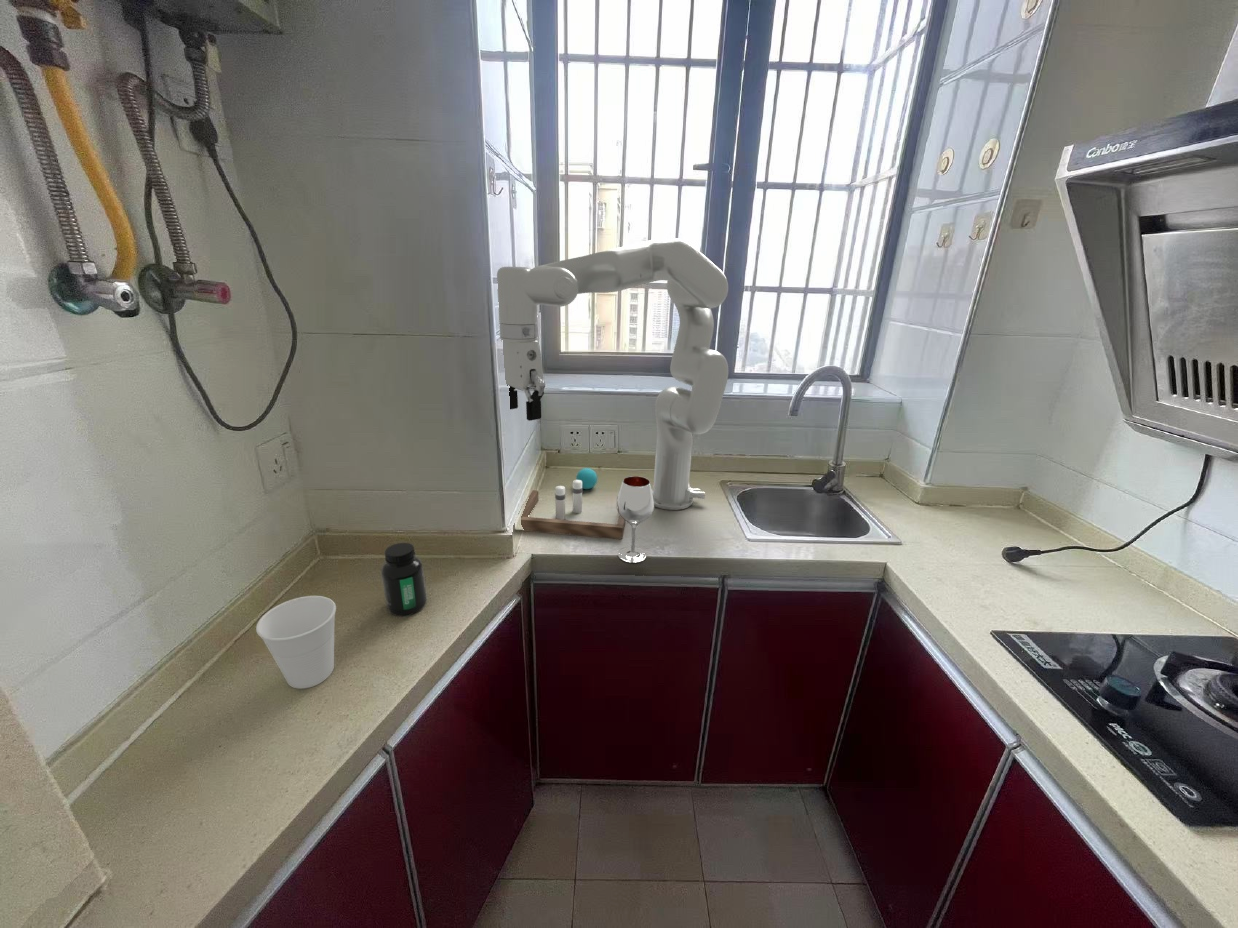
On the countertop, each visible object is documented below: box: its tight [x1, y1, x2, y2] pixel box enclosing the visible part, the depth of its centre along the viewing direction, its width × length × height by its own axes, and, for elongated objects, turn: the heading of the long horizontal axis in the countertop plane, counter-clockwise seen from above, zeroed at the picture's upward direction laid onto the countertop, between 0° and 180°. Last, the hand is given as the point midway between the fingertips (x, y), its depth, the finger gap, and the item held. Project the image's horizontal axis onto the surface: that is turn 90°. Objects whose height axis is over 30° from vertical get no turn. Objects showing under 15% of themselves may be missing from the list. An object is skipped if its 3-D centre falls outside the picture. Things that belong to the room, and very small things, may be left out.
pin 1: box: [554, 485, 566, 520], centre depth 125 cm, size 2×2×8 cm
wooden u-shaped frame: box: [521, 489, 627, 540], centre depth 126 cm, size 26×17×3 cm, turn 84°
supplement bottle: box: [380, 542, 427, 617], centre depth 90 cm, size 7×7×12 cm
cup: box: [255, 595, 337, 690], centre depth 74 cm, size 10×10×11 cm
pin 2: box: [572, 479, 583, 514], centre depth 129 cm, size 2×2×8 cm
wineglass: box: [615, 475, 655, 564], centre depth 108 cm, size 8×8×18 cm
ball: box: [575, 467, 598, 490], centre depth 143 cm, size 6×6×6 cm
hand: (522, 414), depth 107 cm, fingers open, 9 cm apart
